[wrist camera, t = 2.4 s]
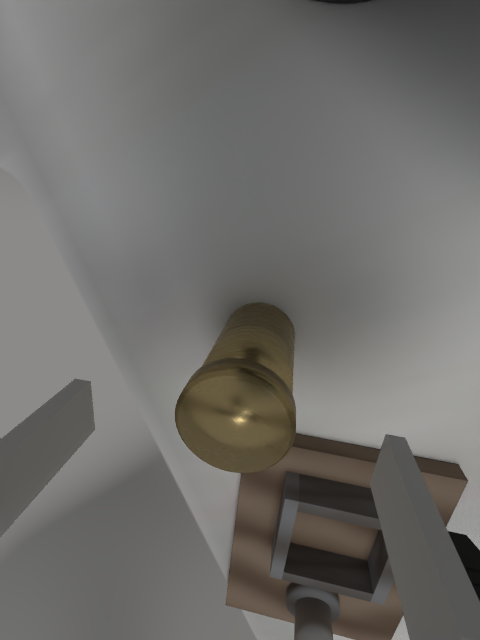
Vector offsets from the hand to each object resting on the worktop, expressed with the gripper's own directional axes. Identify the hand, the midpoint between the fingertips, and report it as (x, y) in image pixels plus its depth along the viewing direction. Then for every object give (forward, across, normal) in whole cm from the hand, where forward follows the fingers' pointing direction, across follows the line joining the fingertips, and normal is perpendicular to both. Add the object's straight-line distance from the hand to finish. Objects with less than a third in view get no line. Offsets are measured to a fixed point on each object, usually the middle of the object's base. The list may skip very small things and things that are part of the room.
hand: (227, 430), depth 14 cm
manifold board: (+10, +8, -18) cm, 23 cm away
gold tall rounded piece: (+10, 0, 0) cm, 10 cm away
